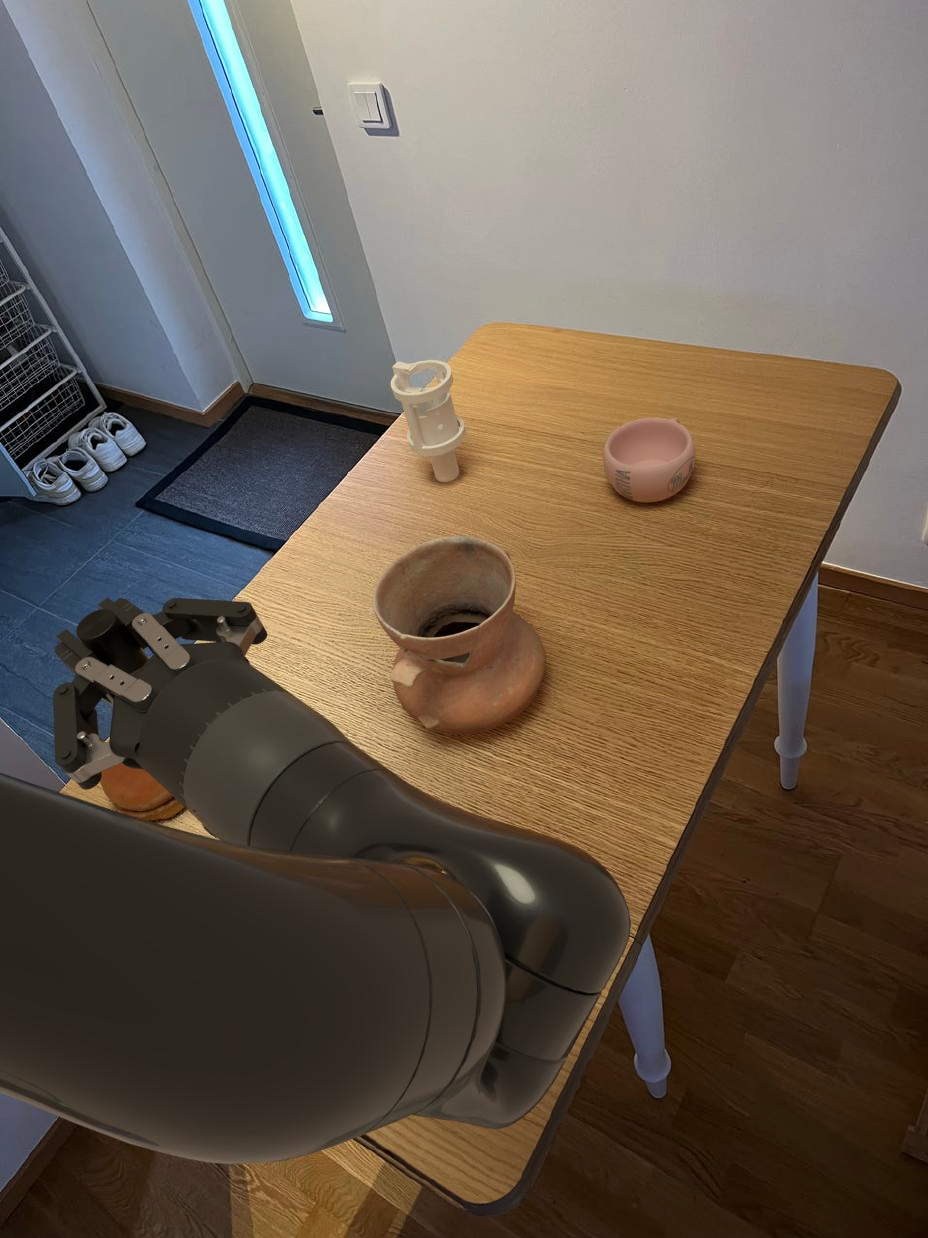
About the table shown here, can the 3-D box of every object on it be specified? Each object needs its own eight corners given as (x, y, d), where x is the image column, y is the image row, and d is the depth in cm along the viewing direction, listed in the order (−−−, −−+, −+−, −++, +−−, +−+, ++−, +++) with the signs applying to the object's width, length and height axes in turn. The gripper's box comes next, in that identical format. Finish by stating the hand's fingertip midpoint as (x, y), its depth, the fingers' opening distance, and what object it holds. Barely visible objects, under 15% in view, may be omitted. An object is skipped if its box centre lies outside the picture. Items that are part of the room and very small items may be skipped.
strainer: (441, 451, 107) (412, 346, 97) (485, 463, 104) (461, 355, 93) (408, 484, 104) (375, 379, 93) (453, 497, 100) (424, 390, 90)
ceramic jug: (494, 783, 72) (461, 684, 62) (366, 728, 79) (317, 630, 69) (586, 637, 81) (570, 529, 71) (463, 599, 88) (432, 496, 78)
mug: (668, 523, 90) (667, 480, 86) (589, 499, 95) (584, 457, 91) (719, 458, 95) (720, 415, 91) (641, 439, 100) (639, 397, 96)
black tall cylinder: (217, 802, 59) (91, 648, 47) (192, 780, 60) (65, 626, 48) (243, 778, 60) (126, 620, 48) (218, 757, 61) (99, 600, 49)
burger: (207, 810, 77) (184, 784, 73) (111, 837, 77) (84, 811, 74) (211, 726, 84) (191, 699, 80) (123, 751, 84) (99, 724, 81)
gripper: (331, 621, 41) (150, 513, 51) (99, 828, 36) (-54, 662, 45) (373, 710, 47) (203, 597, 57) (177, 902, 41) (25, 739, 51)
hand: (89, 626), depth 51 cm, fingers closed on black tall cylinder, 2 cm apart
